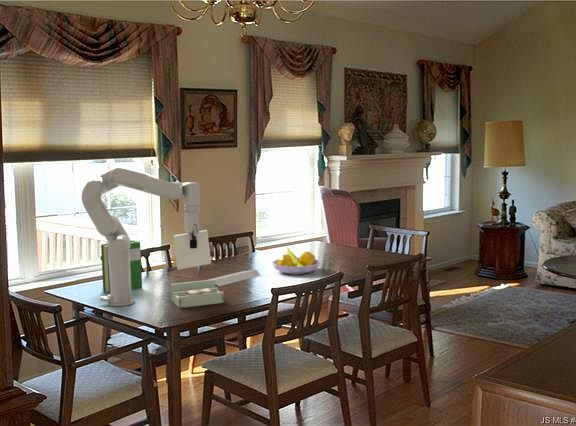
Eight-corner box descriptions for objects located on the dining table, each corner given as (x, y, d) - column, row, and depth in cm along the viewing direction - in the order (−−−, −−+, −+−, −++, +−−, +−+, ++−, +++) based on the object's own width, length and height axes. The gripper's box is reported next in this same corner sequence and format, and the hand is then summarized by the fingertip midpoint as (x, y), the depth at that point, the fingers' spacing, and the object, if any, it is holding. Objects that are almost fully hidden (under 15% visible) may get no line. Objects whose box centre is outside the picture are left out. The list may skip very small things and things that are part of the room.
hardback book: (109, 294, 331) (107, 246, 328) (103, 291, 337) (100, 244, 334) (142, 288, 342) (140, 242, 339) (135, 285, 348) (133, 240, 345)
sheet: (178, 269, 312) (174, 236, 309) (177, 268, 314) (173, 235, 311) (211, 263, 318) (207, 230, 315) (210, 262, 320) (206, 230, 317)
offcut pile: (189, 306, 306) (189, 293, 305) (185, 303, 311) (184, 291, 310) (214, 303, 311) (213, 290, 310) (209, 300, 316) (209, 287, 316)
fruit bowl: (321, 276, 362) (320, 256, 361) (271, 277, 363) (270, 256, 361) (319, 266, 390) (319, 247, 389) (273, 267, 391) (272, 247, 389)
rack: (179, 307, 303) (178, 290, 302) (171, 300, 316) (171, 283, 315) (223, 302, 311) (223, 285, 310) (214, 295, 324) (214, 279, 323)
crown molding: (245, 274, 375) (245, 267, 375) (261, 277, 367) (260, 270, 367) (203, 284, 352) (203, 277, 351) (219, 287, 344) (219, 280, 344)
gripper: (179, 207, 318) (180, 245, 320) (188, 211, 304) (189, 251, 306) (195, 206, 321) (196, 244, 323) (204, 210, 307) (205, 249, 309)
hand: (192, 247), depth 315 cm, fingers closed on sheet, 2 cm apart
